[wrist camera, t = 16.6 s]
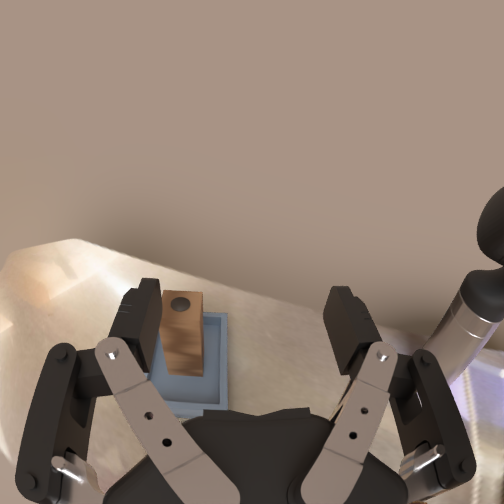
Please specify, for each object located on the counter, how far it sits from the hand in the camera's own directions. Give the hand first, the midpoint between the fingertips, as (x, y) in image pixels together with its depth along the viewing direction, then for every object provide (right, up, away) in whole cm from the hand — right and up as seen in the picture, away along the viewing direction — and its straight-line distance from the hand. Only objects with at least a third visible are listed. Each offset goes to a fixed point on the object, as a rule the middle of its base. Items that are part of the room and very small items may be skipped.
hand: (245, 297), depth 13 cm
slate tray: (-9, -15, +27) cm, 32 cm away
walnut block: (-9, -14, +27) cm, 32 cm away
